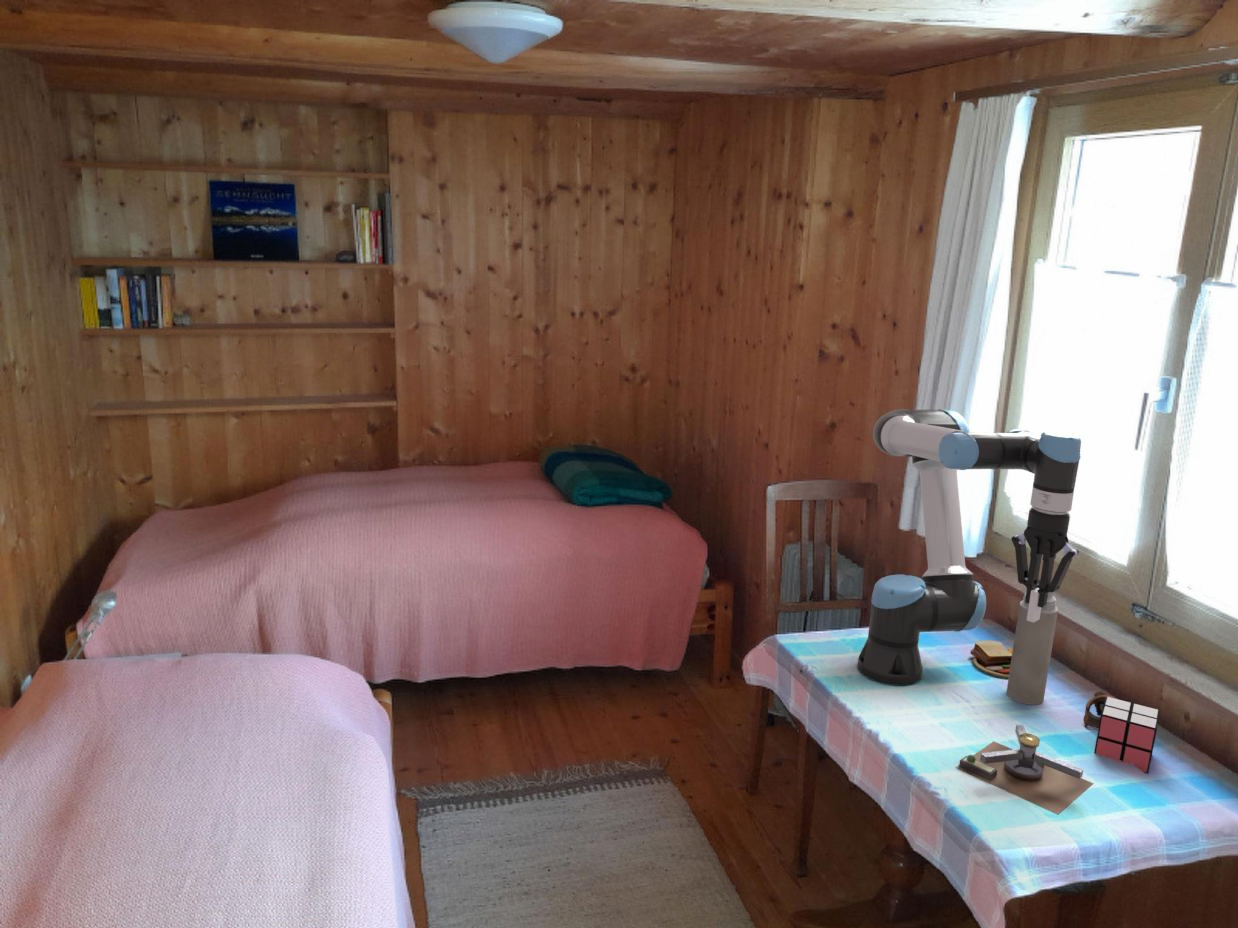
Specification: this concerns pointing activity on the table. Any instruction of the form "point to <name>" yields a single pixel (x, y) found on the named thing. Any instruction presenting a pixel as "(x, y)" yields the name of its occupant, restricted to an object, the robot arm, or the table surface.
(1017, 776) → the cam capstan
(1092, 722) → the pottery mug
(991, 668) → the toy sandwich meal
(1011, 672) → the thermos bottle
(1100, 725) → the puzzle cube
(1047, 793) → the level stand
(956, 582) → the robot arm
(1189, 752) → the table surface
